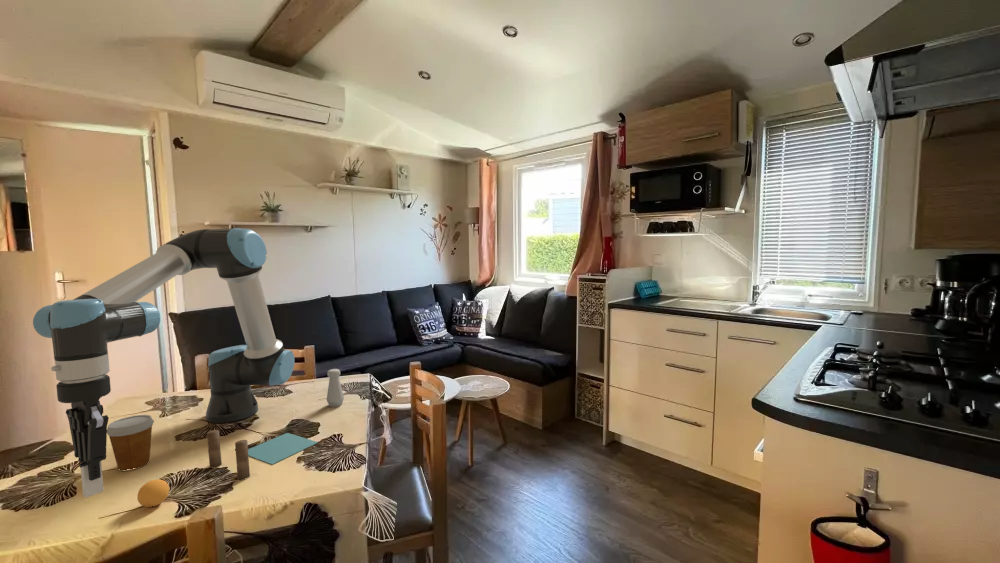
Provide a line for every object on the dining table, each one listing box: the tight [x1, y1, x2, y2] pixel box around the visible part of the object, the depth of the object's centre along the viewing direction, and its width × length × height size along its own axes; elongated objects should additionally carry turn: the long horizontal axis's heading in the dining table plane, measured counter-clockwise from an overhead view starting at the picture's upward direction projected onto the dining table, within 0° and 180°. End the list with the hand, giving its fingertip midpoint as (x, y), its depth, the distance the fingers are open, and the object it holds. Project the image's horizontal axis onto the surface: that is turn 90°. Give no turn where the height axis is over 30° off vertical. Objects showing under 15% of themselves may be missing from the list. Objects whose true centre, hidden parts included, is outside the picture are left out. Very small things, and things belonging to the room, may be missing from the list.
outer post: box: [234, 439, 251, 480], centre depth 105 cm, size 3×3×9 cm
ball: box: [136, 478, 170, 508], centre depth 94 cm, size 6×6×6 cm
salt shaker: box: [326, 368, 345, 408], centre depth 153 cm, size 6×6×13 cm
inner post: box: [206, 429, 223, 468], centre depth 111 cm, size 3×3×9 cm
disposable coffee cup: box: [107, 414, 155, 470], centre depth 112 cm, size 10×10×12 cm
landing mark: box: [248, 432, 319, 466], centre depth 121 cm, size 14×14×1 cm
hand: (93, 493), depth 85 cm, fingers closed
